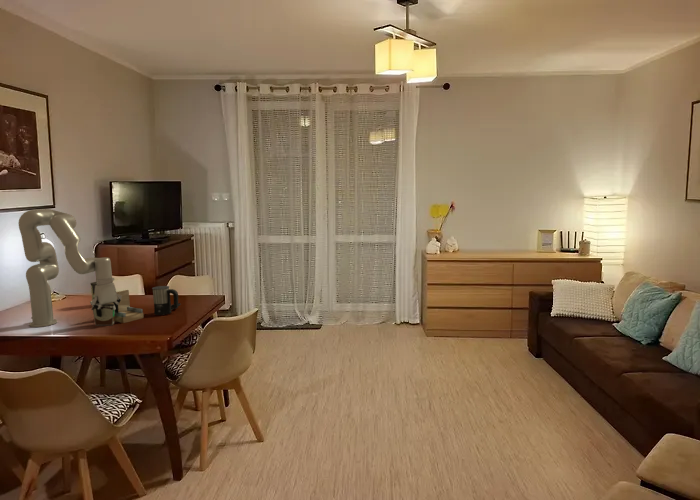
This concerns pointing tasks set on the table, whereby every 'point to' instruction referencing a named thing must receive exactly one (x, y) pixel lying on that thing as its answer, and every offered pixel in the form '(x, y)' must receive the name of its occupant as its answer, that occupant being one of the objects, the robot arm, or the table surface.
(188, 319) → the table surface
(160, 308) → the milk frother
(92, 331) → the table surface
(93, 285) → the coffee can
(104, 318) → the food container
